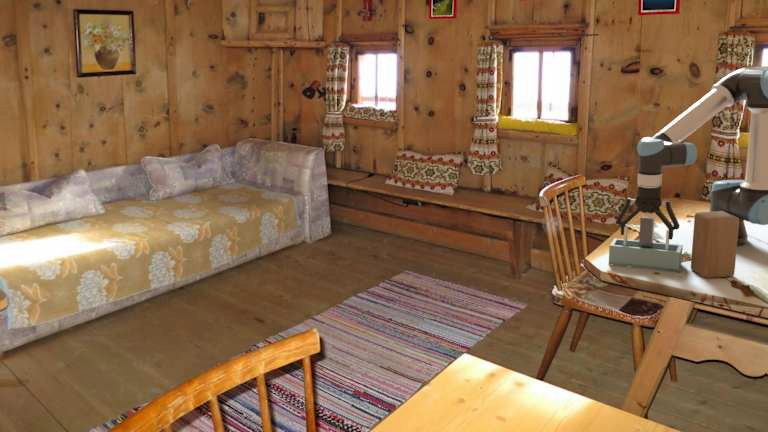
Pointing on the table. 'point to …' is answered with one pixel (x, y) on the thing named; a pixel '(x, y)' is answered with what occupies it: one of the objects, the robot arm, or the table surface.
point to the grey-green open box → (646, 255)
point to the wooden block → (714, 244)
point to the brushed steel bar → (646, 231)
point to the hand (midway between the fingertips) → (645, 246)
